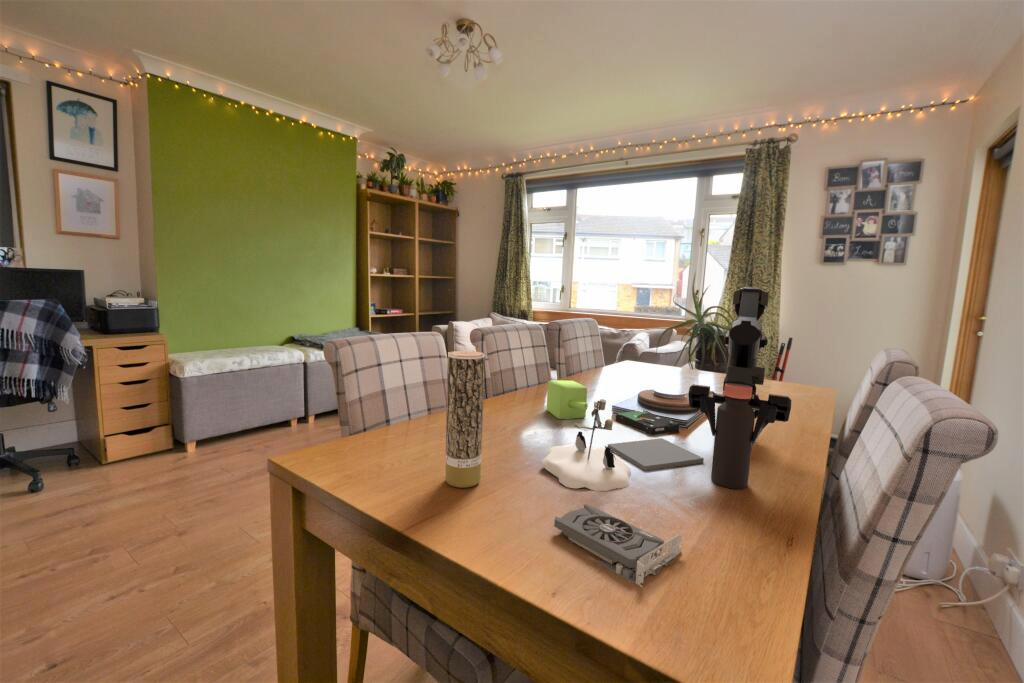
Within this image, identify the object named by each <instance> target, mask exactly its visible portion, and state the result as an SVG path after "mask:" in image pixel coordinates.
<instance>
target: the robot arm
mask: <svg viewBox="0 0 1024 683" xmlns="http://www.w3.org/2000/svg"><path fill="white" fill-rule="evenodd" d="M769 295H770V293H769V292H767V291H764V290H763V288H760V287H753V286H750V287H746V286H744V287H740V288H739V289H738V290H734V291H733V295H732V296H733V297H732V306H731V307H732V308H734V316H735V318H736V320H734V321H733V322H731V325H730V326H731V327H730V330H727V331H726V333H725V339H724V341H725V342H724V345H725V346H726V347H728V351H727V352H728V353H727V354H728V358H727V367H726V372H725V377H724V379H723V386H722V393H716V392H715V391H713V390H711V386H710V385H701V384H694V383H693V384H691V385H690V386H689V388H688V406H689V408H692V409H695V410H699V411H700V412H701V413H702V414H705V416H706V418H707V420H708V423H709V429H710V431H711V435H712V437H715V430H716V404H718V405H721V404H722V403H724V402H725V397H724V396H725V395H724V389H725V384H726V383H734V384H743V385H750V386H752V397H751V398H750V399H751V400H750V401H749V405H750V407H751V408H752V409H753V410H754V412H755V419H756V422H755V423H754V430H753V439H752V444H754V443H756V441H757V439H758V437H759V436H760V435H761V433H762V431H763V430H764V429H765V428H766V427H767V425H769V424H774V423H775V422H783V423H786V422H789V418H790V414H791V409H792V399H791V397H790V396H788V395H781V394H773V393H769V394H768V398H767V400H764V399H760V397H759V396H760V395H759V394H757V386H756V385H759V386H763V385H764V383H765V382H764V381H765V373H766V372H765V371H766V367H761V366H758V356H759V353H760V350H764V349H765V347H766V346H768V338H767V336H766V333H762V329H763V324H762V323H760V321H761V320H762V319H763V318H764V314H765V310H768V307H769V298H770V296H769Z"/></svg>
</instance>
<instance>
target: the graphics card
mask: <svg viewBox="0 0 1024 683" xmlns="http://www.w3.org/2000/svg"><path fill="white" fill-rule="evenodd" d="M553 523H554V524H553V527H554V528H556V529H559V530H560V531H562V533H563V535H564V536H566V537H568V538H567V539H568V540H569V541H571V542H572V543H574V544H575V545H578V546H579V547H581V548H583V549H585V550H587V551H588V552H590V553H591V554H593V555H595V556H597V557H598V558H600V559H602V560H604V561H601V560H598V559H593V558H590V560H592V561H593V562H595V563H597V564H598V565H600V566H602V567H604V568H605V569H606V570H608V571H610V572H612V573H613V574H615V575H617V576H618V577H621V578H622V579H624V580H625V581H627V582H628V583H631V584H632V583H633V584H635V585H637V586H639V587H641V588H644V586H643V585H642V584H644V580H645V579H644V578H645V577H647V576H648V575H650V574H651V575H654V576H655V575H657V574H659V572H661V569H662V568H663V566H666V567H668V566H669V565H671V564H672V563H674V562H675V561H676V558H677V556H678V555H680V553H681V552H682V547H683V546H682V545H680V544H681V542H682V541H683V535H682V534H681V535H680V534H676V536H674V537H671V538H670V539H669V540H667V541H665V540H664V539H663V538H661V537H659V536H656V535H654V534H652V533H650V532H647V531H646V530H643V529H641V528H639V527H637V526H634V525H632V524H630V523H628V522H626V521H624V520H622V519H620V518H619V517H616V516H613V515H611V514H610V513H606V512H605V511H603V510H601V509H598V508H596V507H594V506H592V505H590V504H587V503H586V504H583V508H578V509H573V510H570V511H569V512H567V513H565V514H564V515H563V516H561V517H558V516H555V517H554V522H553ZM615 563H616V564H615Z"/></svg>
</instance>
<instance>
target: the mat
mask: <svg viewBox="0 0 1024 683" xmlns="http://www.w3.org/2000/svg"><path fill="white" fill-rule="evenodd" d="M607 447H609V448H610V451H611V452H612V453H615V455H617V456H619V457H621V458H623V459H624V460H626V461H628V462H630V463H631V464H633V465H635V466H636V467H638V468H639V469H641V470H642V471H644V472H646V471H653V470H658V469H659V470H660V469H666V468H673V467H674V468H675V467H681V466H688V465H695V464H701V463H704V457H702V456H700V455H698V454H696V453H694V452H693V451H692V452H691V451H690V450H688V449H685V448H683V447H681V446H679V445H677V444H676V443H673V442H671V441H668V440H667V439H665V438H662V437H660V438H651V439H645V440H643V439H642V440H635V441H625V442H615V443H608V444H607Z"/></svg>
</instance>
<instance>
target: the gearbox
mask: <svg viewBox="0 0 1024 683" xmlns="http://www.w3.org/2000/svg"><path fill="white" fill-rule="evenodd" d="M546 393H547V394H546V410H547V411H548V412H549V413H551V415H553V416H554V417H556V418H557V419H559V420H569V419H581V418H586V416H587V415H586V414H587V413H586V412H587V409H588V407H589V406H588V404H589V403H587V399H588V388H587V387H586V386H584V385H583V384H581V383H579V382H576V381H575V380H559V379H558V380H548V381H547V392H546Z"/></svg>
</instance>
